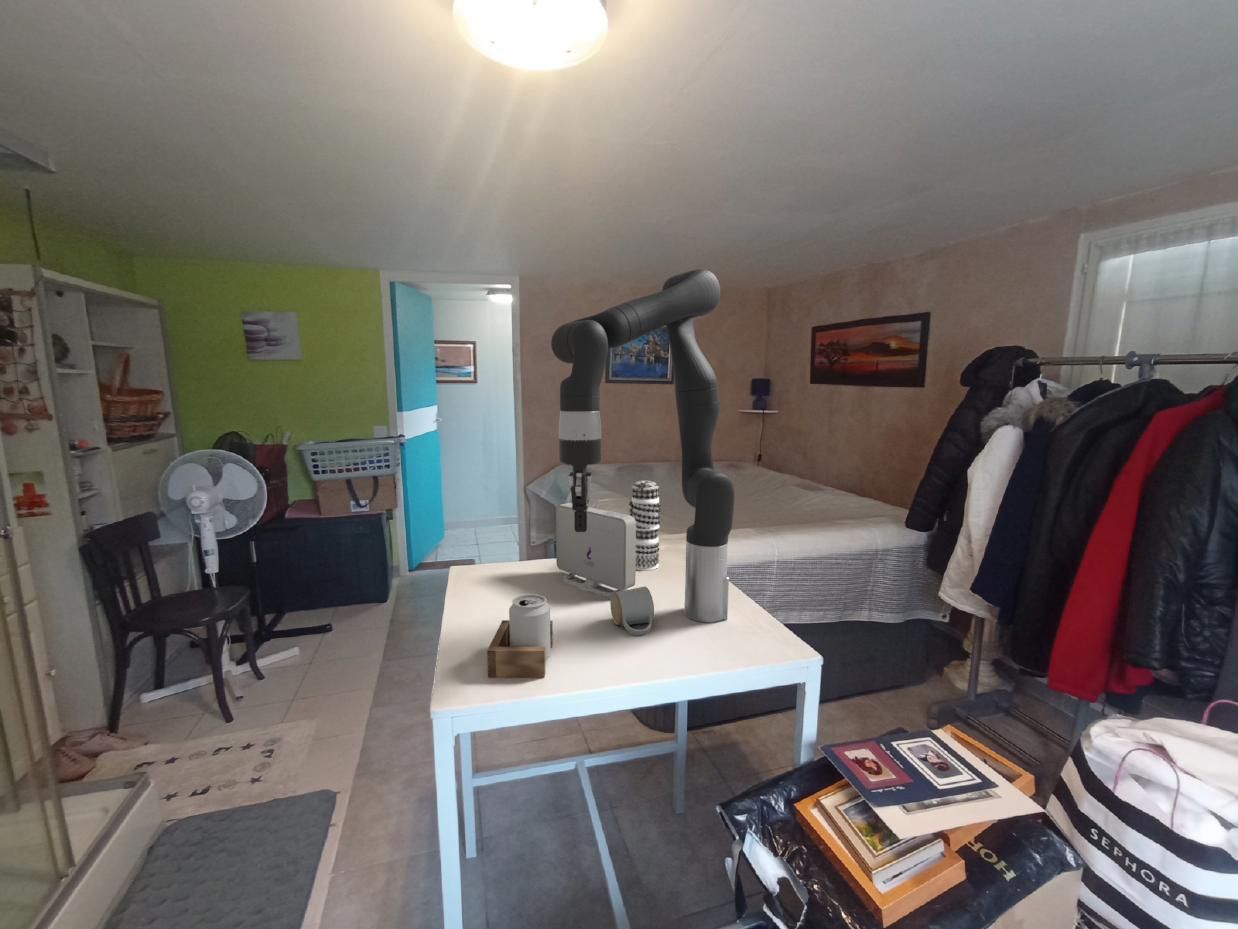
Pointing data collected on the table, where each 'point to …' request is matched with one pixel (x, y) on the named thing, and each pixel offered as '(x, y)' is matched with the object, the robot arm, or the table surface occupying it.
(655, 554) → the decorative candle
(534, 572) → the table surface
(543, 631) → the can
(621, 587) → the network device
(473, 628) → the table surface
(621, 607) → the ceramic mug
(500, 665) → the dock
